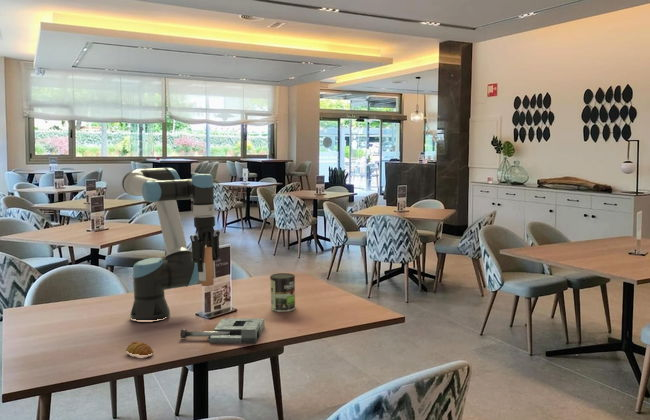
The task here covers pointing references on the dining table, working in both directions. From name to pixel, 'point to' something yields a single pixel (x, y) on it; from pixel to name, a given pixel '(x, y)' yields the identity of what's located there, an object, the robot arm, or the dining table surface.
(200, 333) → the lock pin
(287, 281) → the coffee can
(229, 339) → the dock
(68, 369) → the dining table surface
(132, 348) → the pastry
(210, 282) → the wooden block
